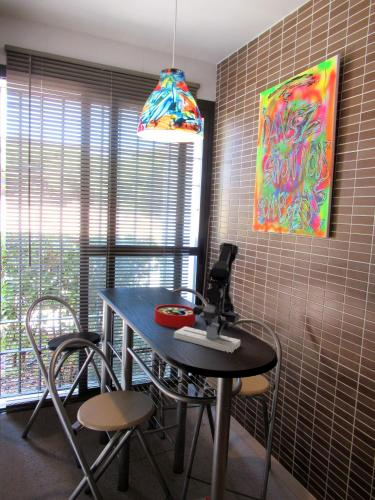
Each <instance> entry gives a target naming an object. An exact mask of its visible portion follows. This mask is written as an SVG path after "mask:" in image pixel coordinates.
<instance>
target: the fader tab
mask: <svg viewBox="0 0 375 500" xmlns="http://www.w3.org/2000/svg"><path fill="white" fill-rule="evenodd" d="M218 328H219V324H217V322H211V324H210V325H208V326H207V327H206V332H207V333H206V338H208V339H212V340H216V339H218V338H219V337H220V336H221V335H222V332H221V333H220V335H219V336H218Z"/></svg>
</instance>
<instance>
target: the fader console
mask: <svg viewBox="0 0 375 500" xmlns="http://www.w3.org/2000/svg"><path fill="white" fill-rule="evenodd" d="M206 333H207V330H201V329H198V328H195V327H194V328H193V327H191V326H190V327H186V326H185V327H183V328H179V329H177V330H176V331H174V333H173V339H177V340H181V341H184V342H188V343H193V344H195V345H196V344H197V345H200V346H203V347H207V348H210V349H214V350H218V351H222V352H225V351H226V353H229V352H231V353H230V354H232V353H234V350H235V349H236V350H237V349H238V348H239V347H240V346H241V339H237V338H233V337H230V336H225V335H222V334H221V336H220V337H219V338H218V339H216V340H212V339H208V338H206ZM236 350H235V351H236Z"/></svg>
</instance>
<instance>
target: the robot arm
mask: <svg viewBox="0 0 375 500" xmlns="http://www.w3.org/2000/svg"><path fill="white" fill-rule="evenodd" d="M239 251H240V250H239V246H237V244H234V243H232V242H231V243H229V242H222V243H220V244H219V250H218V253H219V255H218V258H217V262H214V263H213V265H212V267H211V268H210V270H209V274H208V279H207V285H210V288H209V289H208V290H207V291H206V293H205V294H206V299H207V300H208V303H207V305H200V304H198V305H197V306H194V307H193V314H196V316H200V318H201V319H203V320H204V323H205V326H206V328H207V326H208V325H210V324H212V323H213V322H212V321H213V320H214V319H215V318H217V319H216V323H217V324H219V328H218V336H219V335H220V333H221V334H222V332H223V329H228V328H230V327H231V326H232V324H235V323H237V322H238V321H240V315H239V313H237V312H235V306H234V303H233V297H232V296H231V284H232V282H231V281H232V273H233V263H234V262H235V261H236V259H237V256H238V255H239Z"/></svg>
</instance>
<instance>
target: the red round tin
mask: <svg viewBox="0 0 375 500" xmlns="http://www.w3.org/2000/svg"><path fill="white" fill-rule="evenodd" d="M193 308H194V307H193ZM193 308H192V307H190V306H186V305H182V304H160V305H157V306H155V308H154V317H153V318H154V322H155V323H156V324H158V325H160V326H164V327H166V328H167V327H168V328H175V329H176V328H179V329H181V328H183V327H185V326H186V327H190V328H191V327H193V326H195V324H196V319H197V318H196V316H197V315H196V314H193Z"/></svg>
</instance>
